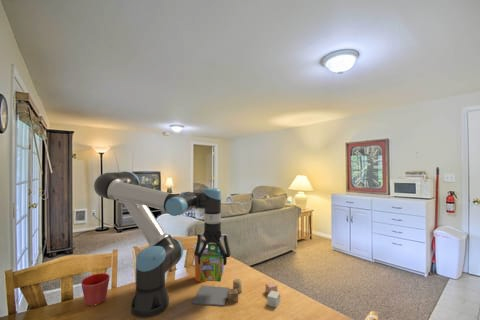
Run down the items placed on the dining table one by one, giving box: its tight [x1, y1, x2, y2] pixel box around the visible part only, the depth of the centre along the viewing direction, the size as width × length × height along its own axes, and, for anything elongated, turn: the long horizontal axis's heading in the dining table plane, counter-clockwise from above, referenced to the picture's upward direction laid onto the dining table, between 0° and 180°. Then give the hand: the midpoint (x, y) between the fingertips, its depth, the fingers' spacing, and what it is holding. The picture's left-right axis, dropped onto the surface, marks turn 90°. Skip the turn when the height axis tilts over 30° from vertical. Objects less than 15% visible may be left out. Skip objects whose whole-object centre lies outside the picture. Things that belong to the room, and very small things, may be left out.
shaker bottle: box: [193, 238, 211, 283], centre depth 124 cm, size 9×9×20 cm
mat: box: [192, 285, 231, 307], centre depth 108 cm, size 14×14×1 cm
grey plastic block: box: [267, 290, 281, 308], centre depth 103 cm, size 4×5×4 cm
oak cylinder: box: [232, 278, 243, 295], centre depth 112 cm, size 4×4×5 cm
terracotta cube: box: [265, 281, 278, 296], centre depth 111 cm, size 4×4×4 cm
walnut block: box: [227, 288, 239, 304], centre depth 105 cm, size 4×4×4 cm
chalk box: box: [200, 243, 224, 283], centre depth 108 cm, size 9×9×15 cm
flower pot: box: [80, 272, 110, 306], centre depth 104 cm, size 11×11×10 cm
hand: (212, 271), depth 108 cm, fingers closed on chalk box, 9 cm apart
